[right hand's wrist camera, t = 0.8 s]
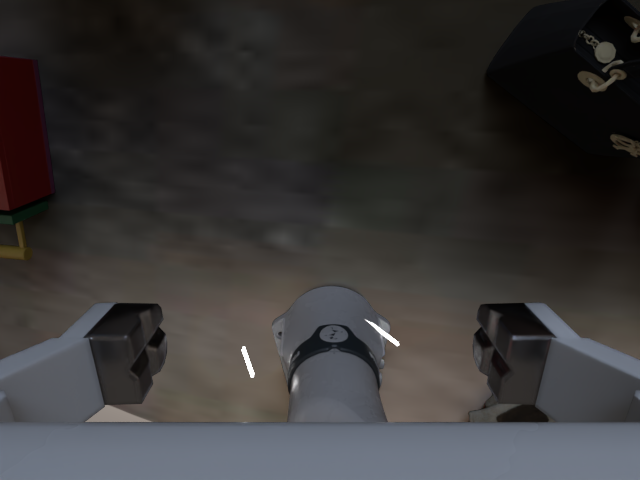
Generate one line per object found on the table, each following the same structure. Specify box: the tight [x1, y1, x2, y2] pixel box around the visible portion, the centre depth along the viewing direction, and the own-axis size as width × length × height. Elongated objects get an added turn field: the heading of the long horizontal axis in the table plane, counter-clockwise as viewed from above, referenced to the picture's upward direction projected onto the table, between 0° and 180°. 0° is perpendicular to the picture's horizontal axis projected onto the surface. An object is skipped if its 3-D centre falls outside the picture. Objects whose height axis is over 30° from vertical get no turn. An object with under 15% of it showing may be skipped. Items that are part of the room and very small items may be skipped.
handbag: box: [487, 0, 640, 158], centre depth 40 cm, size 21×9×25 cm, turn 57°
